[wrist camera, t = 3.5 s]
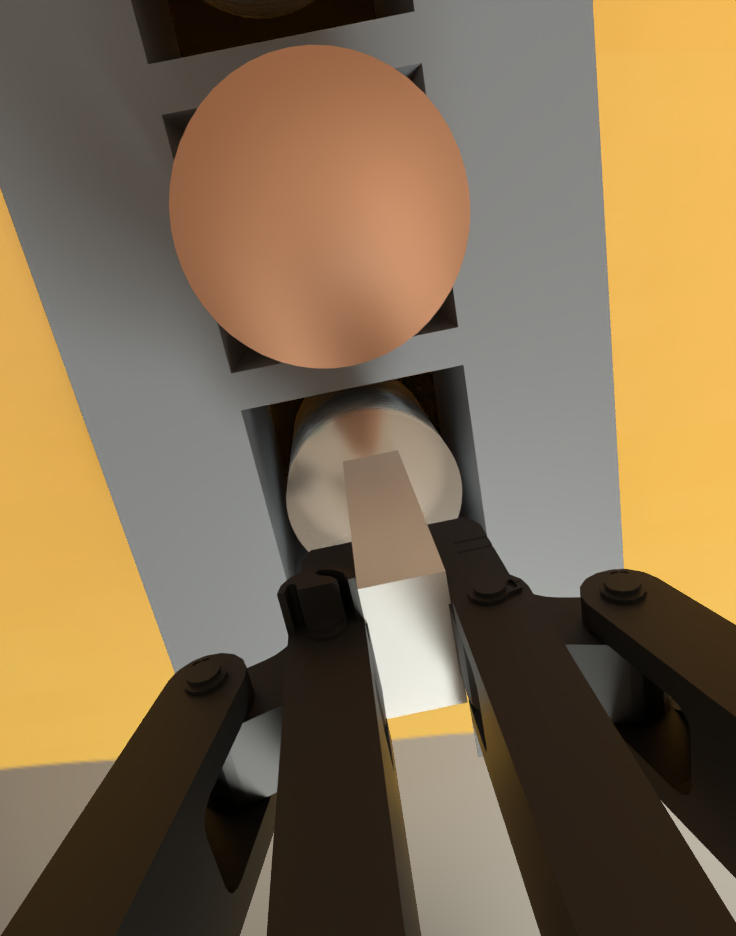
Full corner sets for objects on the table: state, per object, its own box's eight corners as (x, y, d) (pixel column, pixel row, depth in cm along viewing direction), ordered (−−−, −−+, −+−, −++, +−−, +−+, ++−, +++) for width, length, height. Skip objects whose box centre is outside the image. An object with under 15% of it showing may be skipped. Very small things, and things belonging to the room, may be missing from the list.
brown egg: (250, 342, 17) (215, 393, 11) (200, 143, 15) (128, 79, 9) (427, 306, 17) (487, 338, 11) (396, 104, 15) (448, 15, 9)
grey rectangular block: (210, 585, 25) (179, 685, 19) (-36, -189, 17) (-215, -411, 11) (555, 514, 25) (624, 592, 19) (479, -288, 17) (562, -558, 11)
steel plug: (309, 507, 24) (307, 592, 18) (279, 383, 22) (266, 433, 16) (434, 481, 24) (472, 558, 18) (413, 356, 22) (448, 396, 16)
